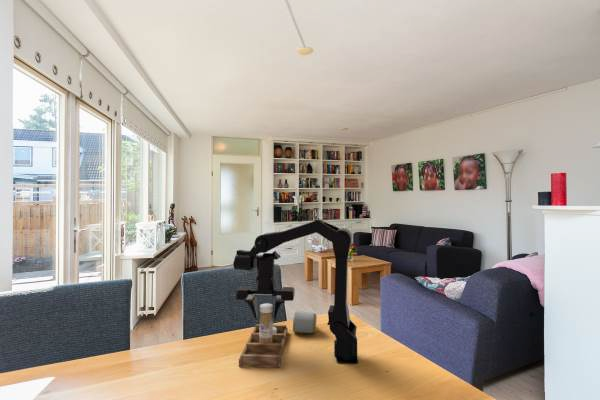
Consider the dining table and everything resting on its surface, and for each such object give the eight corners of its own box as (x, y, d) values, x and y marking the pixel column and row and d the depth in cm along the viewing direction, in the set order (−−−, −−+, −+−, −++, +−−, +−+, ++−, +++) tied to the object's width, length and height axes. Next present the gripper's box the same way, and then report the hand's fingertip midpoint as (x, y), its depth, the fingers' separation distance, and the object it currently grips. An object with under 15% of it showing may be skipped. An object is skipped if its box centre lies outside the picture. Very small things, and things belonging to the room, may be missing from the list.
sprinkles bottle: (256, 347, 97) (256, 306, 98) (263, 342, 102) (263, 302, 102) (268, 350, 96) (269, 308, 96) (275, 344, 100) (275, 303, 100)
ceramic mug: (315, 337, 106) (315, 315, 106) (292, 335, 107) (292, 314, 107) (317, 325, 117) (317, 305, 117) (296, 323, 118) (296, 304, 118)
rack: (287, 332, 110) (287, 324, 109) (279, 367, 87) (279, 357, 87) (255, 331, 110) (255, 323, 110) (238, 366, 88) (238, 356, 88)
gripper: (295, 266, 106) (295, 310, 106) (243, 266, 107) (244, 309, 107) (293, 274, 95) (293, 323, 95) (235, 273, 96) (235, 322, 96)
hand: (265, 319), depth 99 cm, fingers open, 6 cm apart
